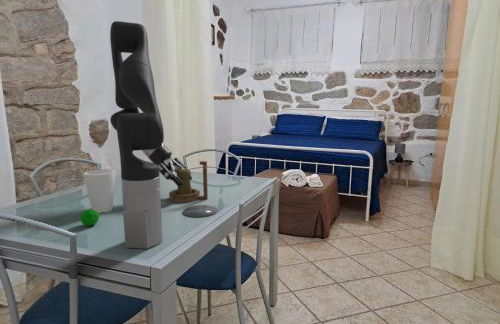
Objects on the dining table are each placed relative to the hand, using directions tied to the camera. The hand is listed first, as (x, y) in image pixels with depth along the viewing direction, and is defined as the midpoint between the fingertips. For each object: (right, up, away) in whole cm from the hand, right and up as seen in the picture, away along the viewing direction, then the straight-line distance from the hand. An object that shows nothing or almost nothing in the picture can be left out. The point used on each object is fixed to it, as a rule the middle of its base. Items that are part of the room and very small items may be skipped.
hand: (186, 182), depth 133 cm
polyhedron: (-24, -11, -27) cm, 37 cm away
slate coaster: (+7, -9, -15) cm, 19 cm away
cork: (-1, -6, +1) cm, 6 cm away
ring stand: (+1, -6, +1) cm, 6 cm away
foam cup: (-26, -9, -12) cm, 30 cm away
